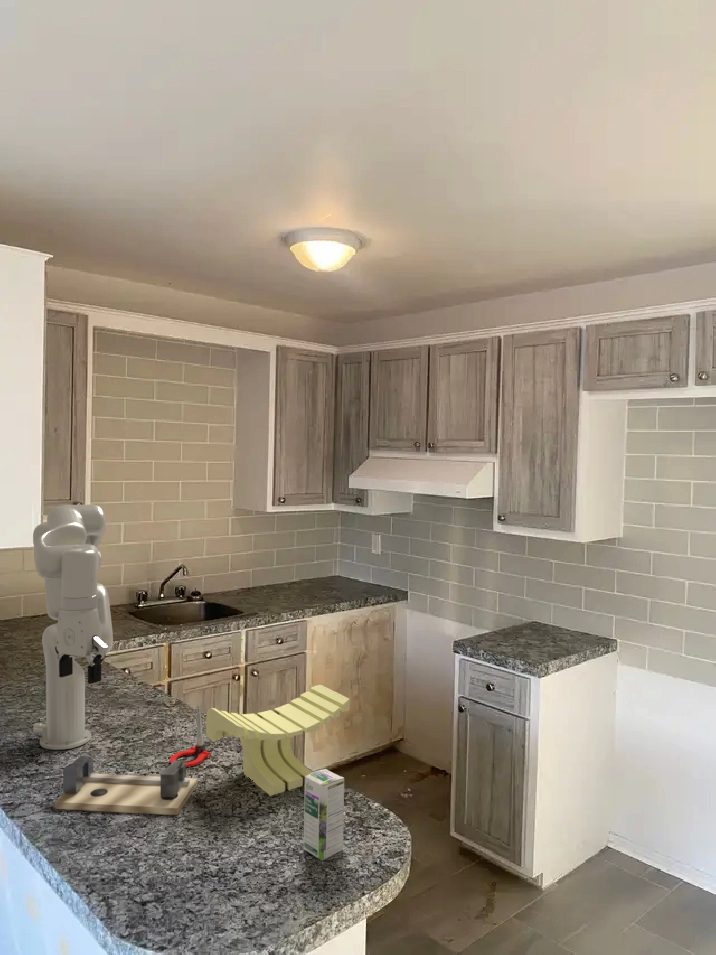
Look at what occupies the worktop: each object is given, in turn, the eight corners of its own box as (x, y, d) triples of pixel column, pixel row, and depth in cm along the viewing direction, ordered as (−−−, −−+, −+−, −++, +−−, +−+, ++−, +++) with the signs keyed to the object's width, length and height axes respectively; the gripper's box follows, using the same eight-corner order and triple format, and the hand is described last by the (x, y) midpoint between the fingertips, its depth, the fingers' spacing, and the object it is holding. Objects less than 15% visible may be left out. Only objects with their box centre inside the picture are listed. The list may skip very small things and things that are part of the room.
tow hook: (185, 772, 173) (214, 758, 180) (182, 720, 172) (212, 708, 179) (162, 763, 178) (191, 750, 185) (160, 713, 177) (189, 701, 184)
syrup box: (302, 849, 139) (302, 776, 138) (325, 838, 143) (325, 766, 143) (321, 861, 135) (322, 785, 134) (344, 850, 139) (345, 776, 138)
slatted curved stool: (313, 749, 186) (314, 681, 186) (349, 771, 173) (349, 698, 173) (206, 779, 169) (206, 704, 168) (236, 806, 156) (236, 725, 155)
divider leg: (63, 792, 157) (63, 769, 157) (80, 776, 165) (80, 753, 165) (76, 793, 157) (76, 770, 157) (93, 776, 165) (93, 754, 165)
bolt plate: (55, 808, 154) (55, 776, 154) (85, 779, 168) (85, 749, 168) (177, 815, 152) (177, 782, 151) (197, 784, 166) (197, 755, 165)
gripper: (40, 602, 163) (40, 677, 163) (91, 610, 154) (92, 689, 154) (68, 597, 169) (69, 669, 169) (119, 604, 160) (119, 680, 161)
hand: (80, 679), depth 162 cm, fingers open, 9 cm apart
